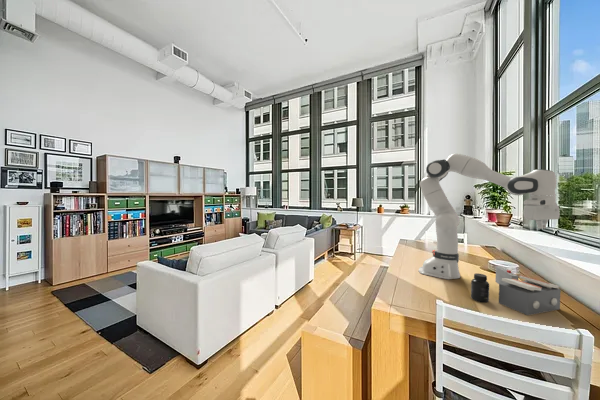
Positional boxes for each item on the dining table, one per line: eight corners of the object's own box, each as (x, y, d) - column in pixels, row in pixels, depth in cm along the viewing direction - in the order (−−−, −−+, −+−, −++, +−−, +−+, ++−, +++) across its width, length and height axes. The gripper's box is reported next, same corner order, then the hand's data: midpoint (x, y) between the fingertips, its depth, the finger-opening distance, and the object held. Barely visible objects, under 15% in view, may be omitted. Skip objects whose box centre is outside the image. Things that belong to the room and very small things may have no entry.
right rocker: (546, 287, 99) (547, 282, 99) (518, 279, 109) (519, 274, 109) (558, 290, 101) (559, 285, 101) (530, 282, 111) (531, 277, 111)
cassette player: (517, 293, 117) (518, 274, 116) (511, 293, 117) (512, 273, 117) (501, 282, 132) (501, 265, 131) (495, 281, 132) (496, 264, 132)
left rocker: (527, 291, 96) (528, 285, 96) (501, 282, 106) (502, 277, 106) (540, 292, 98) (541, 287, 98) (513, 283, 108) (514, 278, 108)
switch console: (528, 315, 95) (529, 294, 95) (498, 303, 106) (499, 283, 106) (561, 309, 100) (562, 289, 100) (529, 298, 111) (529, 279, 111)
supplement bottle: (467, 296, 113) (467, 272, 112) (480, 296, 113) (480, 272, 113) (479, 303, 106) (479, 277, 105) (492, 302, 106) (493, 277, 106)
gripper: (548, 201, 122) (547, 226, 123) (521, 201, 117) (520, 228, 117) (564, 201, 116) (563, 228, 117) (536, 201, 111) (535, 230, 111)
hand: (541, 228), depth 117 cm, fingers closed
